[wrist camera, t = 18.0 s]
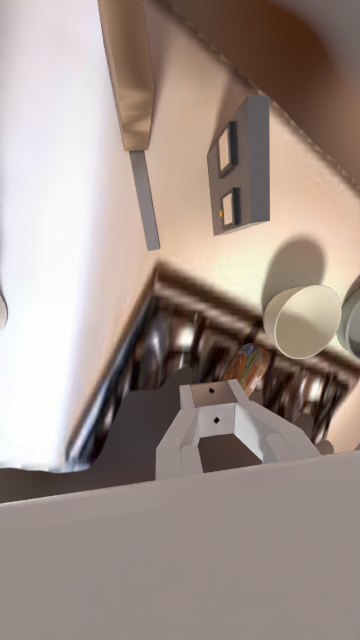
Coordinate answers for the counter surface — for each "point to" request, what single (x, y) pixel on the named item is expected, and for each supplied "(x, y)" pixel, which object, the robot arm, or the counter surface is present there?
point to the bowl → (302, 320)
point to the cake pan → (350, 325)
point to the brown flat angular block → (129, 68)
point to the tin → (248, 367)
